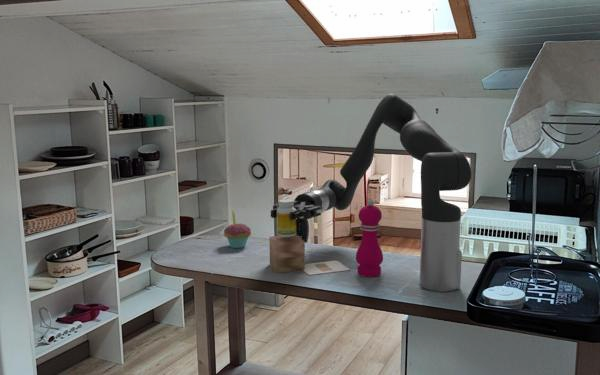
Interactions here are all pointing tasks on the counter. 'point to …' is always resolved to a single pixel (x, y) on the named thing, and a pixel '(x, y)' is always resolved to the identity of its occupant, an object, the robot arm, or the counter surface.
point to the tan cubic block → (287, 253)
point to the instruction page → (324, 267)
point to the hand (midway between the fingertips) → (281, 215)
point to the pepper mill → (369, 242)
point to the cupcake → (237, 234)
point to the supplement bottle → (285, 219)
